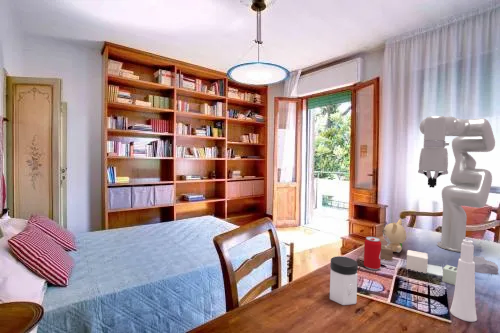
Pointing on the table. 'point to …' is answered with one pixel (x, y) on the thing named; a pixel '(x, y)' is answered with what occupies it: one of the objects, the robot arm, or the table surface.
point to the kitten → (395, 235)
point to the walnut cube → (386, 252)
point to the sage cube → (449, 274)
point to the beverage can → (372, 253)
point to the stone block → (484, 265)
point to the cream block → (417, 261)
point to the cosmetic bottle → (465, 285)
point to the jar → (343, 280)
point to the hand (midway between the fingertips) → (431, 187)
